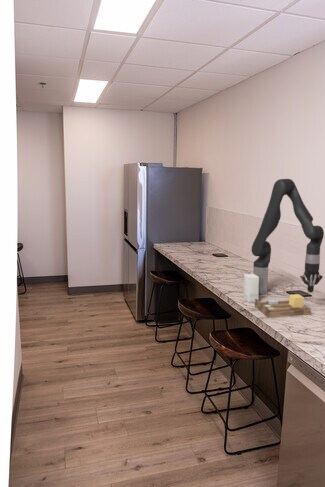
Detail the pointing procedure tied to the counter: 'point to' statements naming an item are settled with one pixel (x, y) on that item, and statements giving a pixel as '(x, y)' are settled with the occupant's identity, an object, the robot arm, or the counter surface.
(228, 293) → the counter surface
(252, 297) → the skincare box
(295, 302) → the mustard block
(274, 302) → the grey block
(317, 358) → the counter surface
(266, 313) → the box
